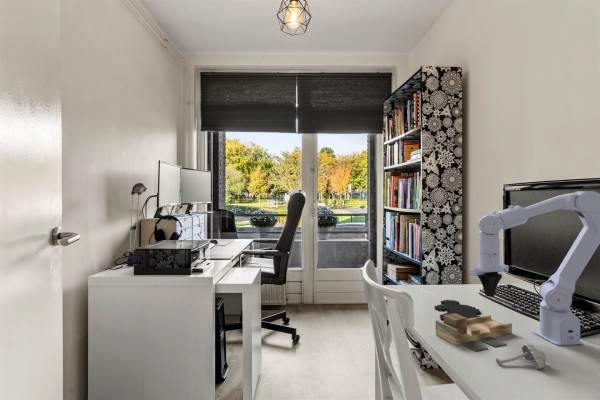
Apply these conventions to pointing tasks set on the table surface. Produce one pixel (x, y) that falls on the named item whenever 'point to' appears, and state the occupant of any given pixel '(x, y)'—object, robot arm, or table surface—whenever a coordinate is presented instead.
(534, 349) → the mushroom
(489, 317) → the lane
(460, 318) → the walnut block
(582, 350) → the table surface
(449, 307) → the black pixelated cutout
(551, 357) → the table surface
